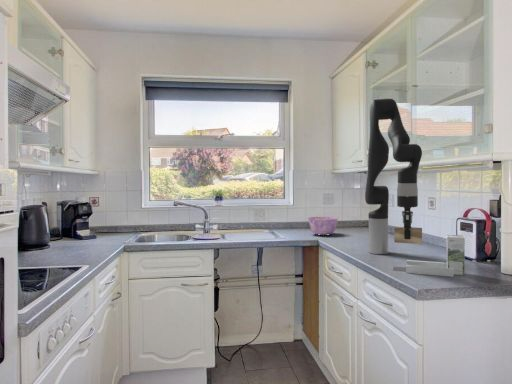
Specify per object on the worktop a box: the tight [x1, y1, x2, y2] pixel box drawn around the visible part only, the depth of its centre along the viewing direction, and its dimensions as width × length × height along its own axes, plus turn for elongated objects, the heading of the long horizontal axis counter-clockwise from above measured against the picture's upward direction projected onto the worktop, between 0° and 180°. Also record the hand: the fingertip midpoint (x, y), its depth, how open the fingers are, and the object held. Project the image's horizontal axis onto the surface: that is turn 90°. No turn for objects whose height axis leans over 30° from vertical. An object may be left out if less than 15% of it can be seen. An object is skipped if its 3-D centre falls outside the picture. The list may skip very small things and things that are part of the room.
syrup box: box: [446, 234, 466, 276], centre depth 137 cm, size 6×6×14 cm
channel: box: [392, 259, 455, 278], centre depth 141 cm, size 11×21×3 cm, turn 66°
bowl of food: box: [307, 216, 339, 235], centre depth 245 cm, size 20×20×12 cm
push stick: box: [393, 226, 423, 245], centre depth 144 cm, size 3×10×6 cm, turn 67°
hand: (407, 238), depth 144 cm, fingers closed on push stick, 2 cm apart
